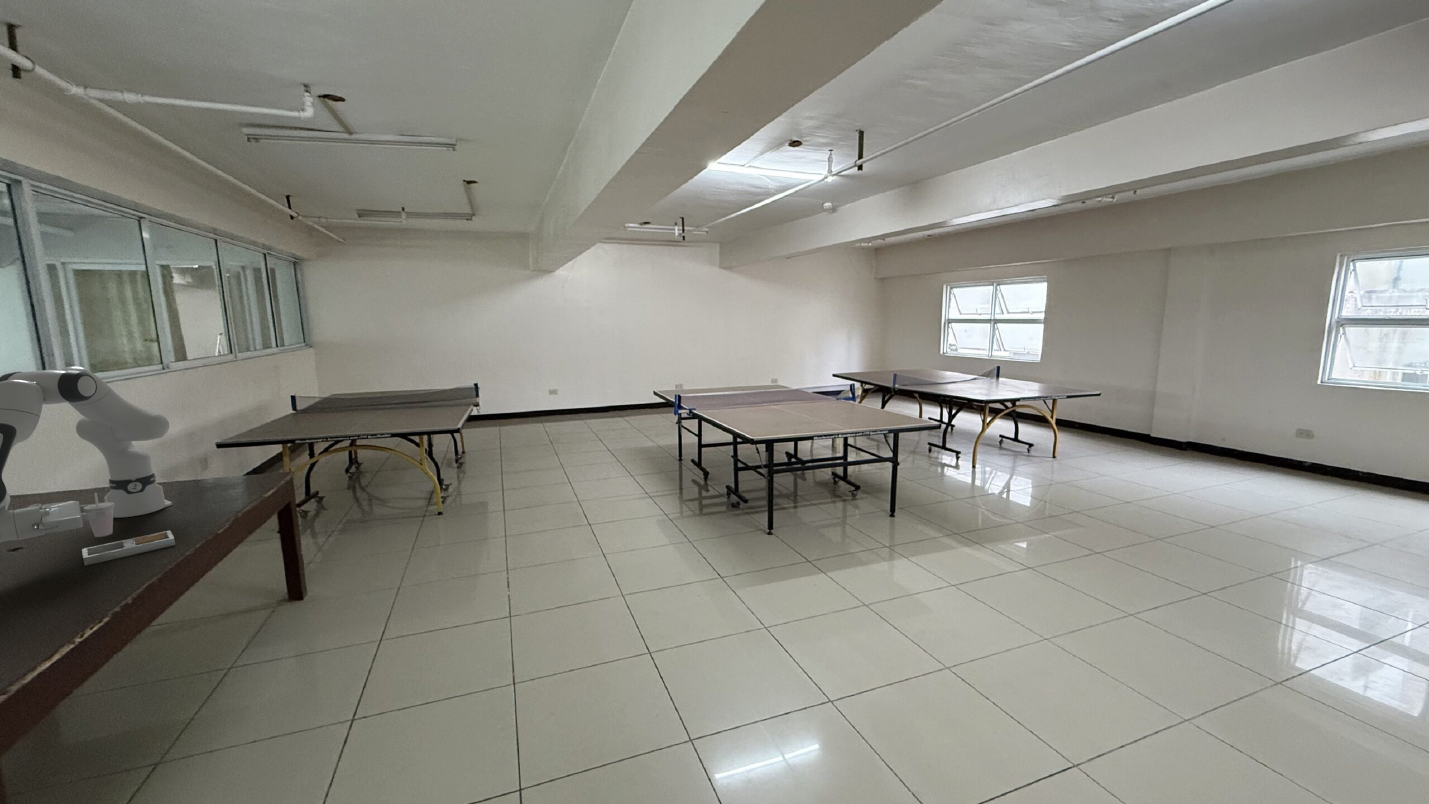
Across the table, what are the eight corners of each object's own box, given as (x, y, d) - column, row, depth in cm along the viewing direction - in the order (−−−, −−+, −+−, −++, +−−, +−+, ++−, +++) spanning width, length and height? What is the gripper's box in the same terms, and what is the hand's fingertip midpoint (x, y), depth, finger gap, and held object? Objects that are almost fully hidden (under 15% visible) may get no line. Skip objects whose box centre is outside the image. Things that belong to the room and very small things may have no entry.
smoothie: (81, 539, 162) (74, 496, 160) (99, 531, 168) (92, 489, 166) (108, 537, 164) (101, 494, 162) (124, 529, 170) (118, 488, 168)
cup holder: (83, 556, 166) (81, 548, 166) (171, 537, 182) (170, 530, 181) (84, 565, 160) (83, 558, 160) (175, 545, 176) (174, 538, 175)
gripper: (30, 521, 148) (104, 507, 159) (31, 503, 160) (100, 492, 171) (34, 542, 149) (108, 527, 160) (35, 522, 161) (103, 510, 172)
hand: (104, 509), depth 166 cm, fingers closed on smoothie, 6 cm apart
